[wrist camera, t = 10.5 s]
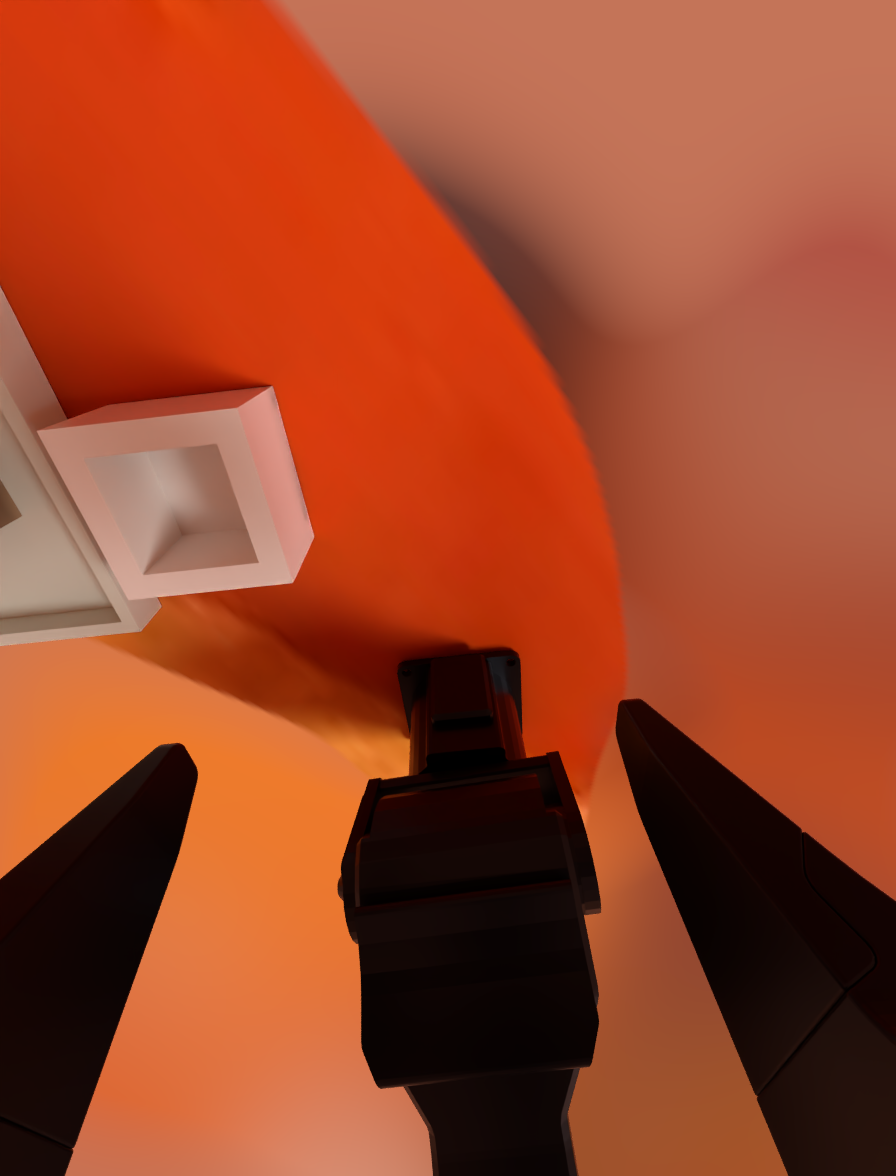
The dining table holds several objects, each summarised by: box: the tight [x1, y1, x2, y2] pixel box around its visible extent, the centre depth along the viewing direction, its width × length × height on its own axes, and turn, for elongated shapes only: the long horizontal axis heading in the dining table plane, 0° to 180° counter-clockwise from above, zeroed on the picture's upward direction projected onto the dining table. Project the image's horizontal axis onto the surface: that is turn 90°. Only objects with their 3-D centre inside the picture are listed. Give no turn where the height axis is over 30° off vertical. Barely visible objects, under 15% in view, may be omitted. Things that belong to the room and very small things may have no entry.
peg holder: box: [37, 386, 314, 600], centre depth 18 cm, size 6×6×4 cm
